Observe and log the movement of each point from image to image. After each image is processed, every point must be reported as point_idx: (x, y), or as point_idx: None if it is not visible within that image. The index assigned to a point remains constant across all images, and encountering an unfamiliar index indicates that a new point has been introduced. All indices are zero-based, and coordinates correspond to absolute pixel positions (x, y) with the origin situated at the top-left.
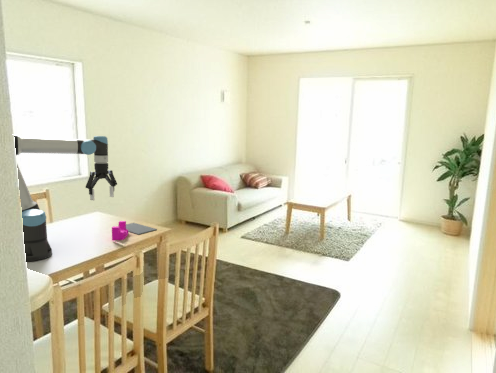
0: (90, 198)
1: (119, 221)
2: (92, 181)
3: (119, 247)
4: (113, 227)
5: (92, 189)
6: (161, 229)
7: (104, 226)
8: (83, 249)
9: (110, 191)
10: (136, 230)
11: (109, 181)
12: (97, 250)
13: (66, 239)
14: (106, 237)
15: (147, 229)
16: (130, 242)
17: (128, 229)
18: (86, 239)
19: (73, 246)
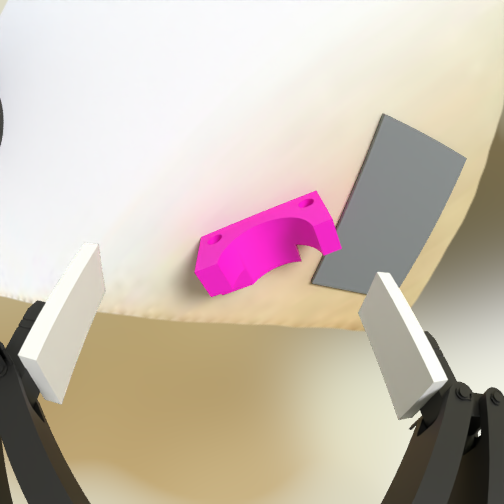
0: (77, 258)
1: (322, 224)
2: (27, 495)
3: (150, 313)
4: (201, 277)
5: (42, 390)
6: None
7: (382, 42)
8: (62, 229)
9: (394, 334)
10: (356, 247)
11: (389, 495)
12: None
13: (98, 51)
14: (216, 189)
15: None
16: (212, 311)
17: (362, 206)
18: (143, 130)
19: (57, 169)
